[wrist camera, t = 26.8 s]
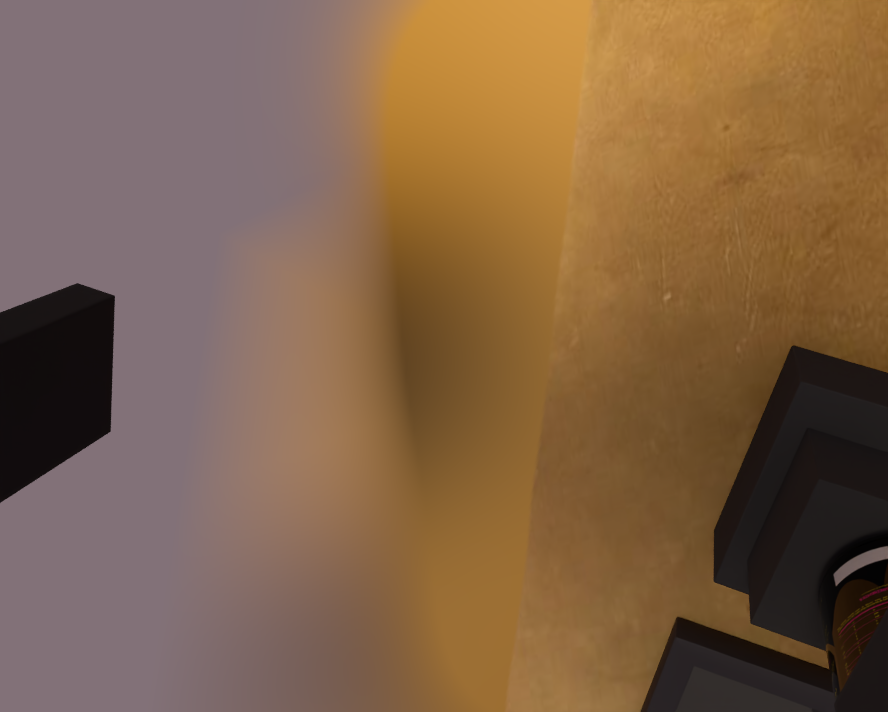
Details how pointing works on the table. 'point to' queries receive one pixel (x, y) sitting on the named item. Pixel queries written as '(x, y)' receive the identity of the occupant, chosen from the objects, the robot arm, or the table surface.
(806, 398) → the dark rectangular box
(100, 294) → the robot arm
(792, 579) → the top pad
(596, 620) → the table surface
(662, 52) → the table surface
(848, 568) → the supplement container
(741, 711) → the picture frame
